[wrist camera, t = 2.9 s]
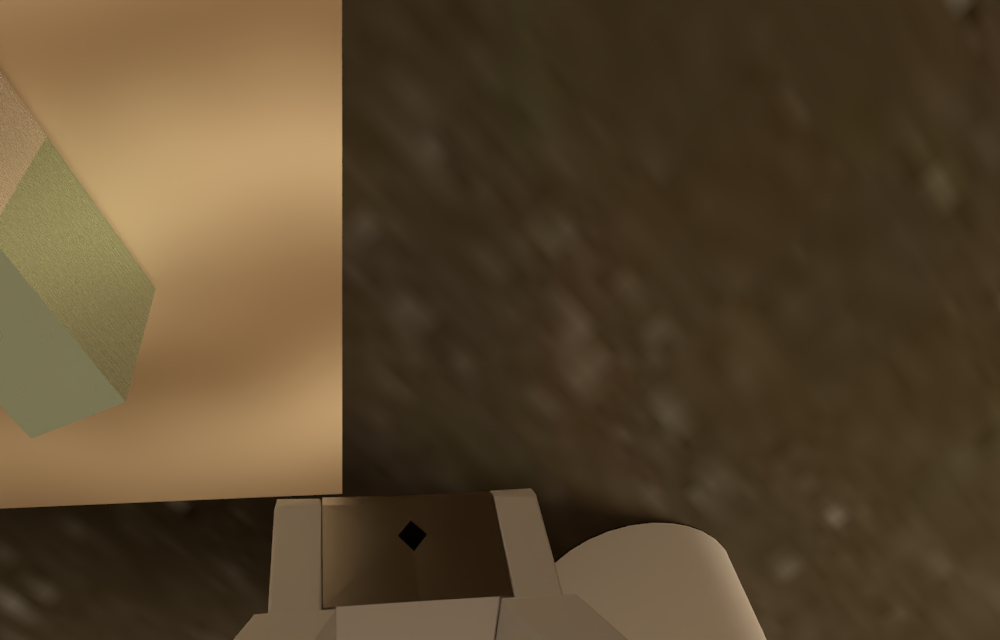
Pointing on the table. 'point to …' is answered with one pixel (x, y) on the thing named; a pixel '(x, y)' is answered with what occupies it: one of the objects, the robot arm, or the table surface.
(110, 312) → the bar
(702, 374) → the table surface
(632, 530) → the cylindrical container
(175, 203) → the cutting board
